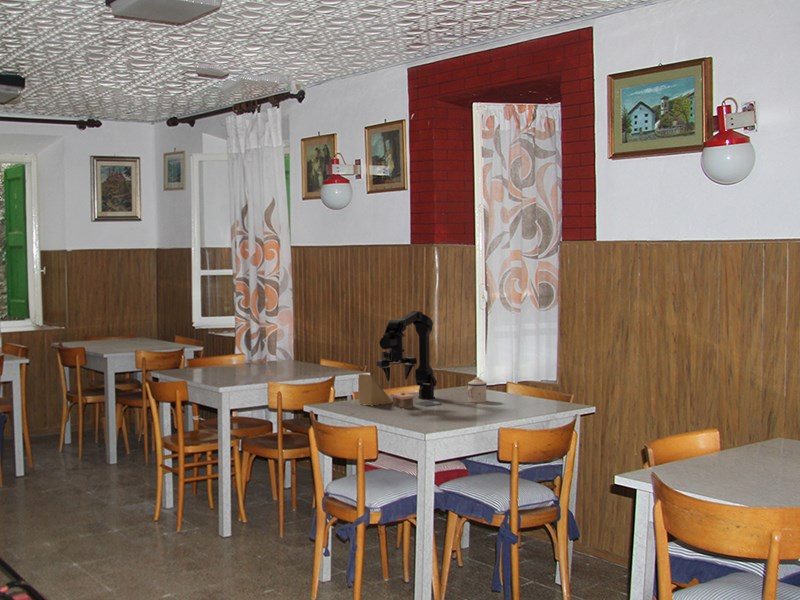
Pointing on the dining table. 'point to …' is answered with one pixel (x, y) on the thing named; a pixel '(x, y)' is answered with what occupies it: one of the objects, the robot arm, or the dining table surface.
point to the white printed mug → (476, 391)
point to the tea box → (403, 403)
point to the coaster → (428, 403)
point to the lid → (402, 396)
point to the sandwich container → (371, 391)
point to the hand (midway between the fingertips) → (397, 380)
